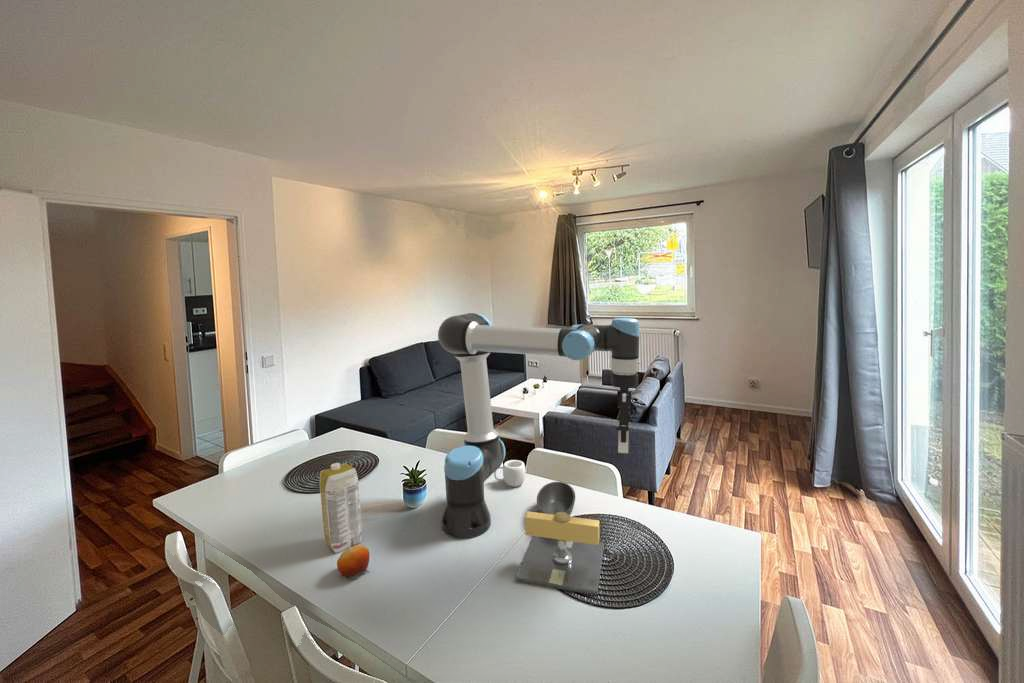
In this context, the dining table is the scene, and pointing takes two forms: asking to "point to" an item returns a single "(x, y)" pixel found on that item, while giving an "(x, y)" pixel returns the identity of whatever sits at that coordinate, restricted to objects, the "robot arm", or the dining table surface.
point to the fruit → (353, 561)
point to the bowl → (556, 498)
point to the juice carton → (340, 506)
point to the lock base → (562, 565)
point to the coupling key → (562, 527)
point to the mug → (513, 473)
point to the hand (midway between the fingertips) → (623, 443)
